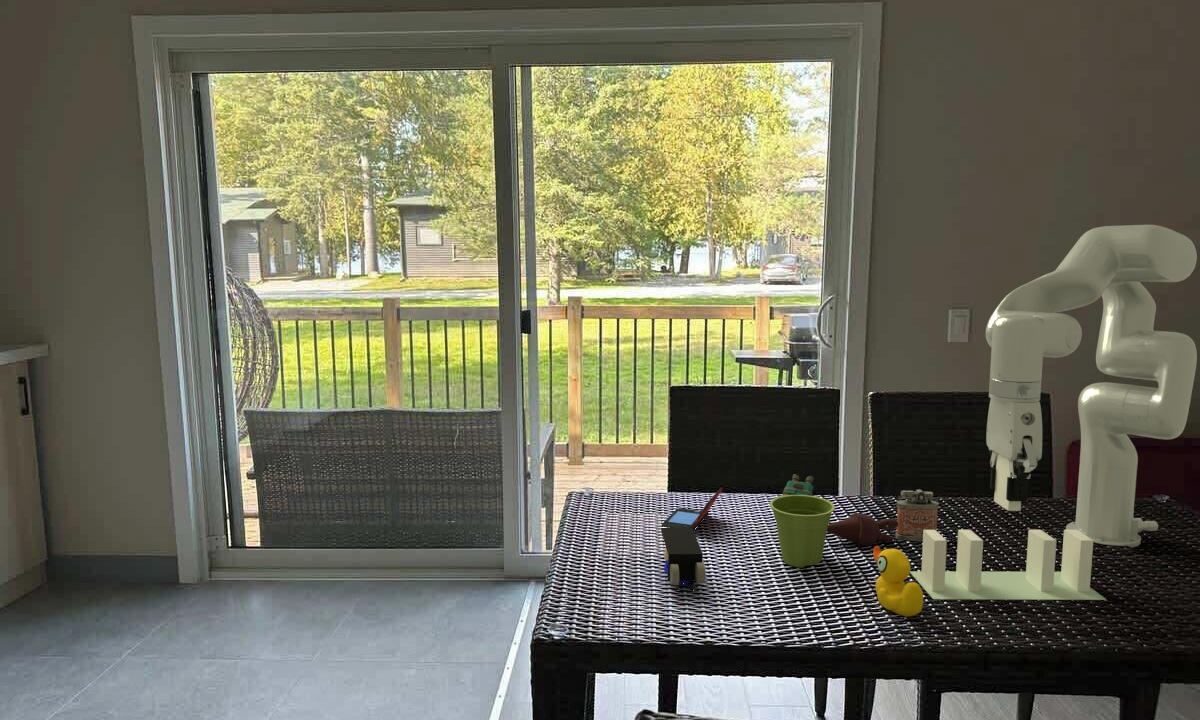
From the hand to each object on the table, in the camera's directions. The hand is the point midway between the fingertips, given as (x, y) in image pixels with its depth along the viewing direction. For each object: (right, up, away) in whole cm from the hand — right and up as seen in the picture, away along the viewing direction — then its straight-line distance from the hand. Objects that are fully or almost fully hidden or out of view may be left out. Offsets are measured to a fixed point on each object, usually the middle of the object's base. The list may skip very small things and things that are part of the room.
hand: (1008, 494), depth 127 cm
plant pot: (-31, -16, +16) cm, 38 cm away
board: (0, -17, +2) cm, 17 cm away
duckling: (-21, -18, -4) cm, 28 cm away
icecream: (-18, -15, +23) cm, 32 cm away
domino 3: (0, -2, 0) cm, 2 cm away
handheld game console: (-49, -14, +37) cm, 63 cm away
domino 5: (+12, -16, +2) cm, 20 cm away
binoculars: (-26, -13, +37) cm, 47 cm away
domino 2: (-6, -16, +3) cm, 17 cm away
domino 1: (-12, -16, +3) cm, 20 cm away
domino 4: (+6, -16, +2) cm, 17 cm away
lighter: (-4, -14, +26) cm, 30 cm away
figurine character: (-54, -17, +9) cm, 58 cm away
